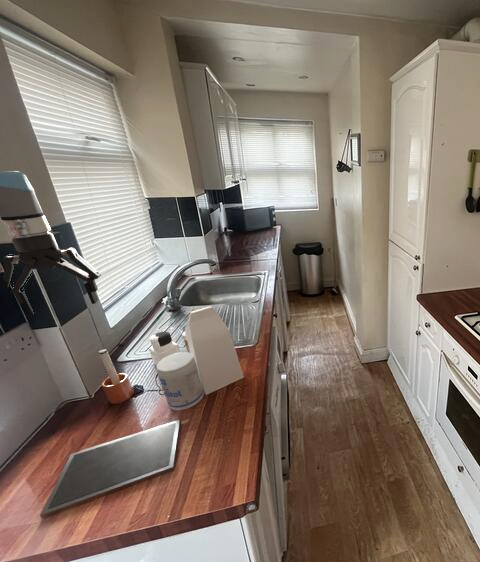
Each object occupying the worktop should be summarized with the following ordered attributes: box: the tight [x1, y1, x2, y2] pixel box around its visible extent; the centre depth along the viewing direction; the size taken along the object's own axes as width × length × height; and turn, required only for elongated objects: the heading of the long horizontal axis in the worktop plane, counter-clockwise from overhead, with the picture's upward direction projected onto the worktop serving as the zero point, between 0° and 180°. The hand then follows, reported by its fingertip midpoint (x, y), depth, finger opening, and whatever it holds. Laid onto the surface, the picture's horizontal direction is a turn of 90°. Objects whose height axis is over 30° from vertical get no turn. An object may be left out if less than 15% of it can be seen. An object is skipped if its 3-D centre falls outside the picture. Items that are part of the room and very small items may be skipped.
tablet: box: [39, 419, 182, 520], centre depth 75 cm, size 24×16×1 cm, turn 115°
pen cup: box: [101, 372, 135, 404], centre depth 95 cm, size 6×6×7 cm
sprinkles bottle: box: [181, 331, 190, 353], centre depth 109 cm, size 5×5×13 cm
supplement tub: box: [156, 351, 205, 411], centre depth 92 cm, size 10×10×15 cm
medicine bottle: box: [148, 331, 181, 367], centre depth 110 cm, size 7×7×12 cm
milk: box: [184, 305, 245, 396], centre depth 99 cm, size 12×12×26 cm
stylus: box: [98, 348, 120, 385], centre depth 93 cm, size 2×2×17 cm
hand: (65, 307), depth 88 cm, fingers open, 13 cm apart
